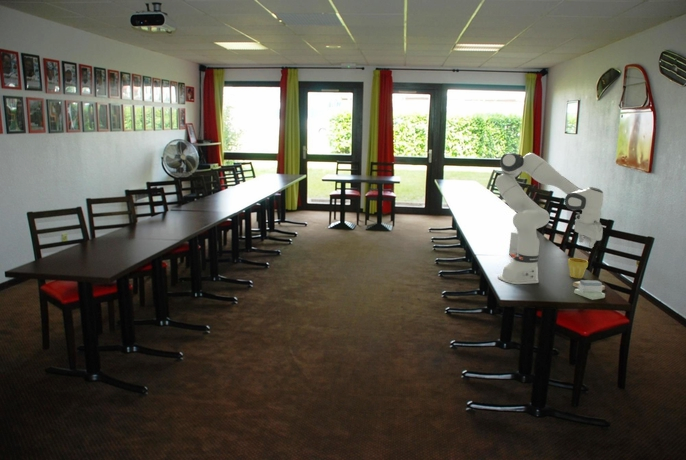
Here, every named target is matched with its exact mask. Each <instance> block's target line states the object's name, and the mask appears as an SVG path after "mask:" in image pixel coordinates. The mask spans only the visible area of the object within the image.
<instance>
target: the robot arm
mask: <svg viewBox="0 0 686 460" xmlns="http://www.w3.org/2000/svg"><path fill="white" fill-rule="evenodd" d="M499 166H500V168H501V173H500V174H499V176H497V177H496V179H495V181H494V184H495V186H496V189H497V191H498V192H499V194H500V196H501V197H502V198H503V200H504V201H505V203H506V204H507V205H508V207H509V208H510V209H511V210H513V211H514V212H516V213H515V214H514V216H513V217H512V223H513V226H514V227H515V228H516V231H517V232H518V248H517V252H516V254H511V255H510V257H511V258H513V259H512V261H510V262H509V263H508V264H507V265H505V266H504V268H503V271H502V274H500V275H497V279H498V280H501V281H503V282H505V283H509V284H513V285H525V284H526V285H528V284H539V276H538V275H539V273H538V272H539V267H538V262H539V256H540V255H539V250H540V249H539V248H540V243H541V242H540V239H539V237H538V235H537V229H539V228H543V227H544V226H546V225H547V224H548V223H549V221H550V217H551V216H550V214H549V212H548V211H547V209H544V208H542V207H541V206H540V205H538V204H537V203H536V202H535V201H534V200H533V199H531V197H529V195H527V193H526V192H525V191H524V189H523V187H521V185H520V183H518V181H517V179H518V178H519V177H520V176H521V175H522V173H526V174H528V175H529V177H531V178H532V179H533V180H534V181H536V182H538V183H540V184H542V185H547V186H553V187H555V188H558V189H560V190H561V192H563V193H565V194H566V196H565V197H564V205H565V207H567V209H569V210H572V211H577V210H578V211H580V210H581V211H582V212H581V213H580V214H576V215H575V221H574V232H576V233H577V234H578V242H579V243H584V239H585V238H584V237H586V238H589V239H590V242H589V243H588V247H590V248H593V247H594V246H595V244H596V242H597V241H602V239H603V232H604V231H603V230H604V229H603V228H604V227H603V225H602V223H601V222H600V221H601V220H600V219H601V210H602V208H603V202H604V192H603V190H601V189H600V188H598V187H593V186H592V187H591V186H588V187H587V188H584V189H583V188H580V187H578V186H577V185H575V184H574V183H573V182H571V181H570V180H569V179H567V177H565V176H563V175H562V174H561V173H560V172H559V171H557V170H556V169H555V168H554V167H553V166H552V165H551V164H550V163H548V162H547V161H546V160H545V159H543V158H542V157H541V156H539V155H537V154H535V153H534V152H529V153H526V154H525V155H524V156H523V155H522V154H519V153H514V152H506V153H505V154H503V155H502V156H501V157H500V161H499Z"/></svg>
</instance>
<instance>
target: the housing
mask: <svg viewBox="0 0 686 460" xmlns="http://www.w3.org/2000/svg"><path fill="white" fill-rule="evenodd" d="M579 281H580V283H579V287H577V289H578V290H579V291H581V292H582V293H603V290H602V287H603V286H604V285H603V283H602V282H601V281H599V280H589V279H586V280H584V279H579ZM602 285H603V286H602Z"/></svg>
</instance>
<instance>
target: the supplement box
mask: <svg viewBox="0 0 686 460" xmlns="http://www.w3.org/2000/svg"><path fill="white" fill-rule="evenodd" d="M509 240H510V241H509V242H510V243H509V251H508V255H509V256H511V254H516V252H517V248H518V232H517V230H512V231H511V232H510V239H509Z"/></svg>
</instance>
